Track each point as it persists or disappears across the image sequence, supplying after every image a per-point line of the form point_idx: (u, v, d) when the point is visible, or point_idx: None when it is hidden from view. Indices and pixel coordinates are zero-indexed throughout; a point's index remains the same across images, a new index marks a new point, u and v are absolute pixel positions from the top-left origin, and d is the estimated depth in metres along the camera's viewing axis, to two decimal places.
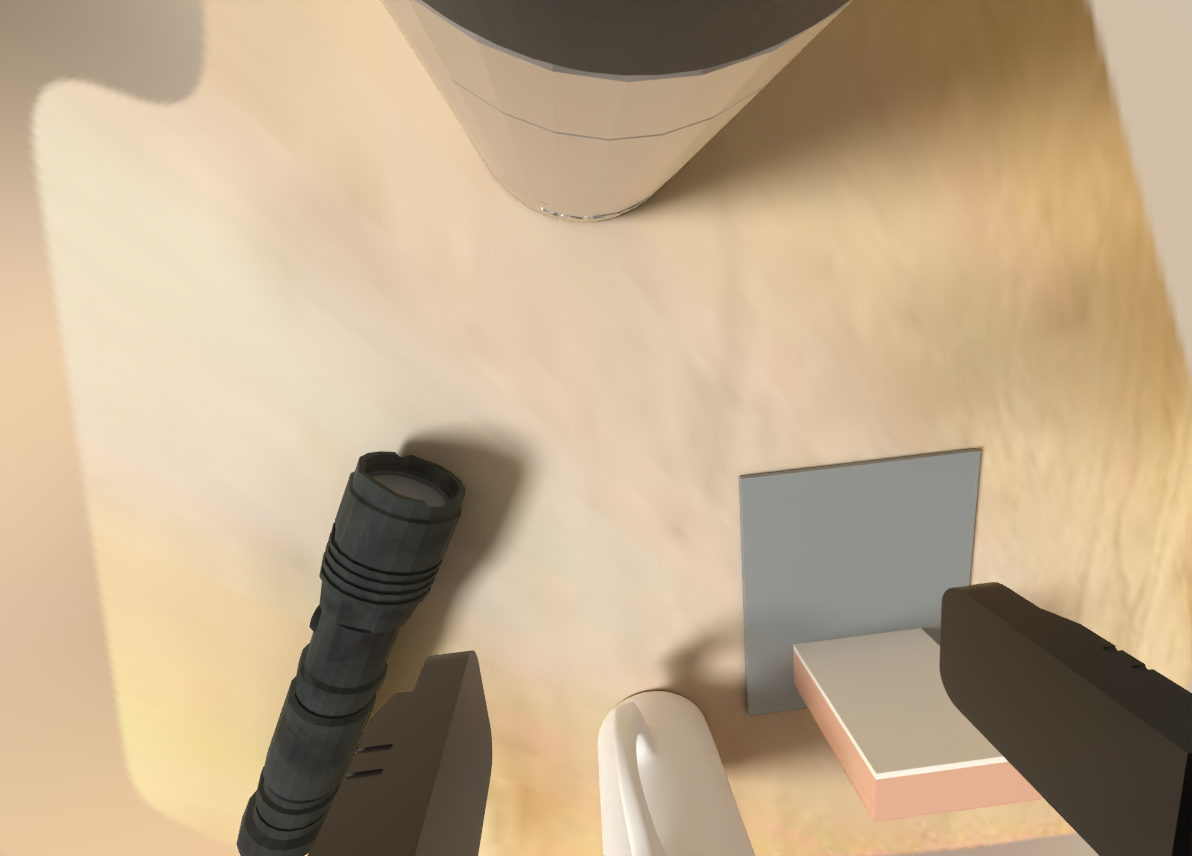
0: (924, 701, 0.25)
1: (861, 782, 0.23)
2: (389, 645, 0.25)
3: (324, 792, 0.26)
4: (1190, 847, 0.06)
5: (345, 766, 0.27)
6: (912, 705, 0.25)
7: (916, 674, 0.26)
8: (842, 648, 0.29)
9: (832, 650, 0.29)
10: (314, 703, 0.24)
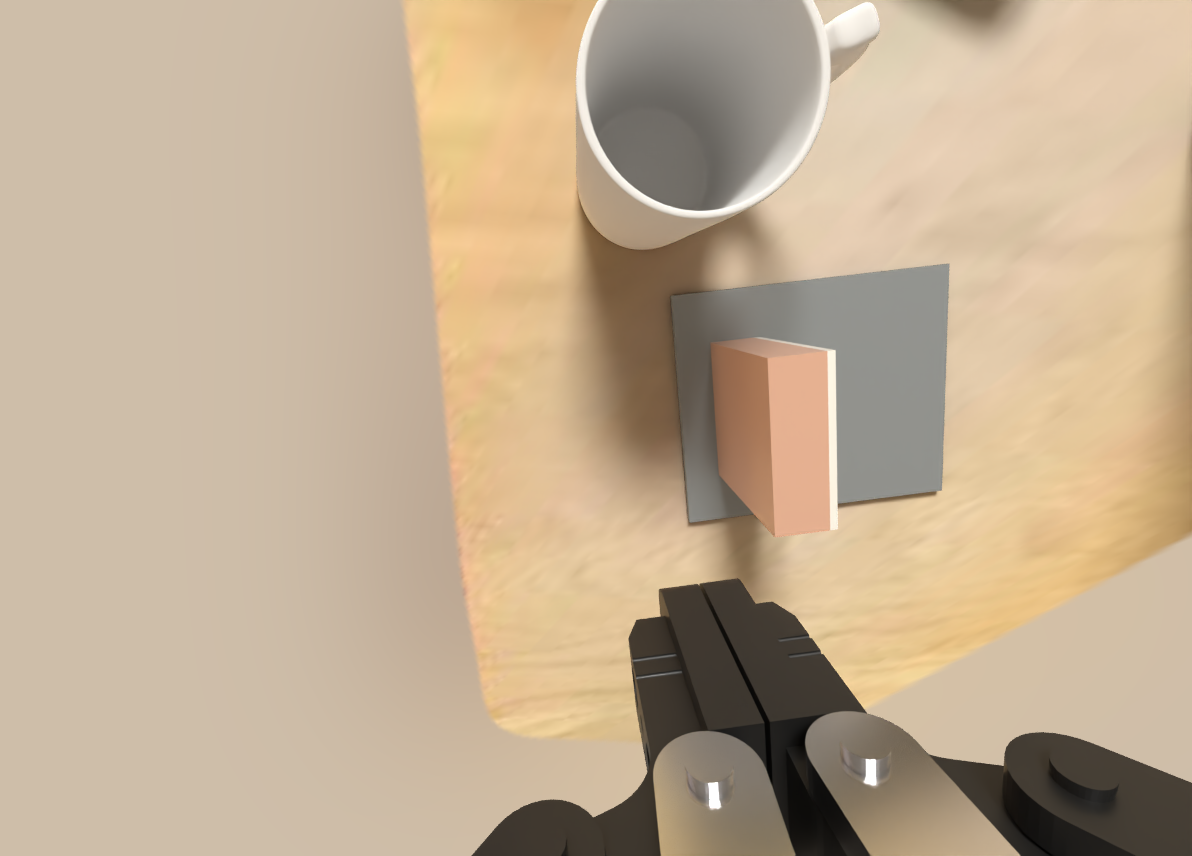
0: None
1: (782, 352, 0.21)
2: None
3: None
4: (787, 802, 0.07)
5: None
6: None
7: None
8: None
9: None
10: None
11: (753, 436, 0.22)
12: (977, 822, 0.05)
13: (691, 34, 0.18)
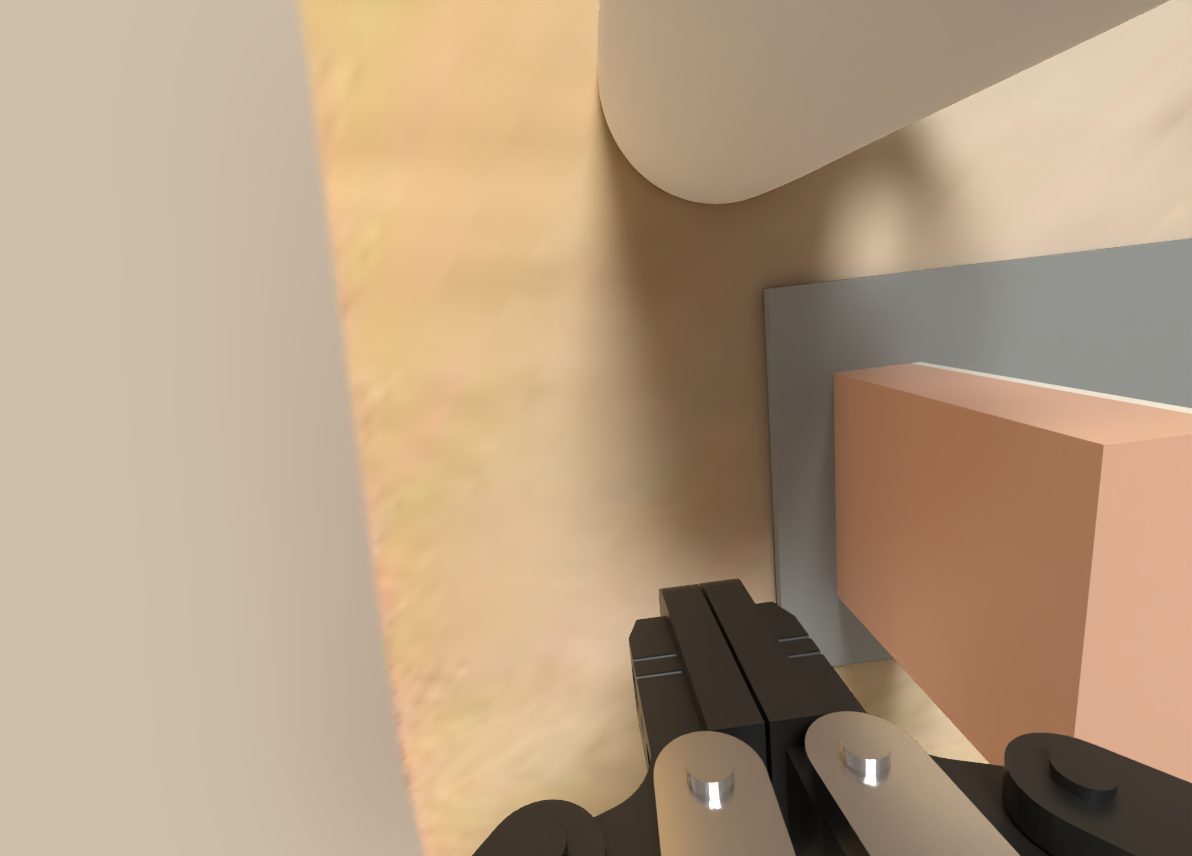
0: None
1: (1102, 421, 0.09)
2: None
3: None
4: (786, 803, 0.07)
5: None
6: None
7: None
8: None
9: None
10: None
11: (986, 590, 0.10)
12: (977, 823, 0.05)
13: None
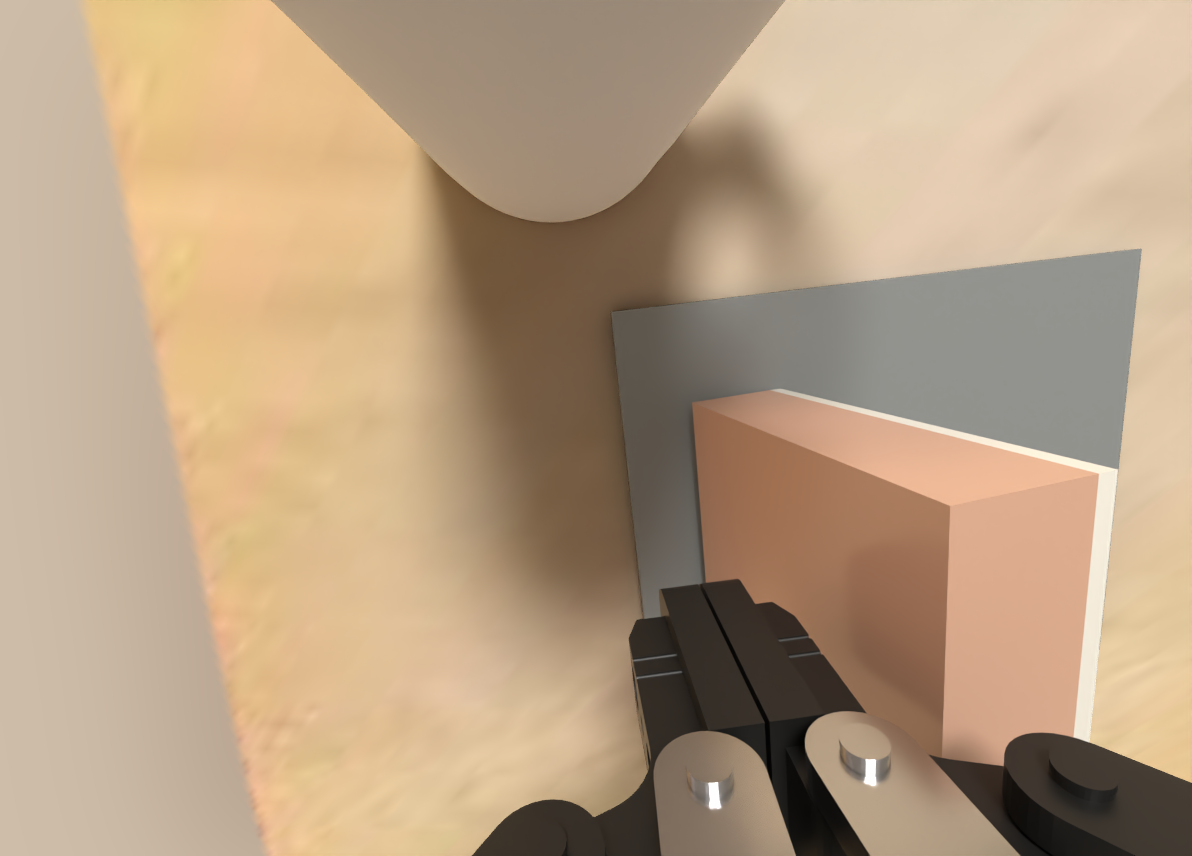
0: None
1: (949, 469, 0.08)
2: None
3: None
4: (786, 802, 0.07)
5: None
6: None
7: None
8: None
9: None
10: None
11: (845, 656, 0.09)
12: (977, 822, 0.05)
13: None
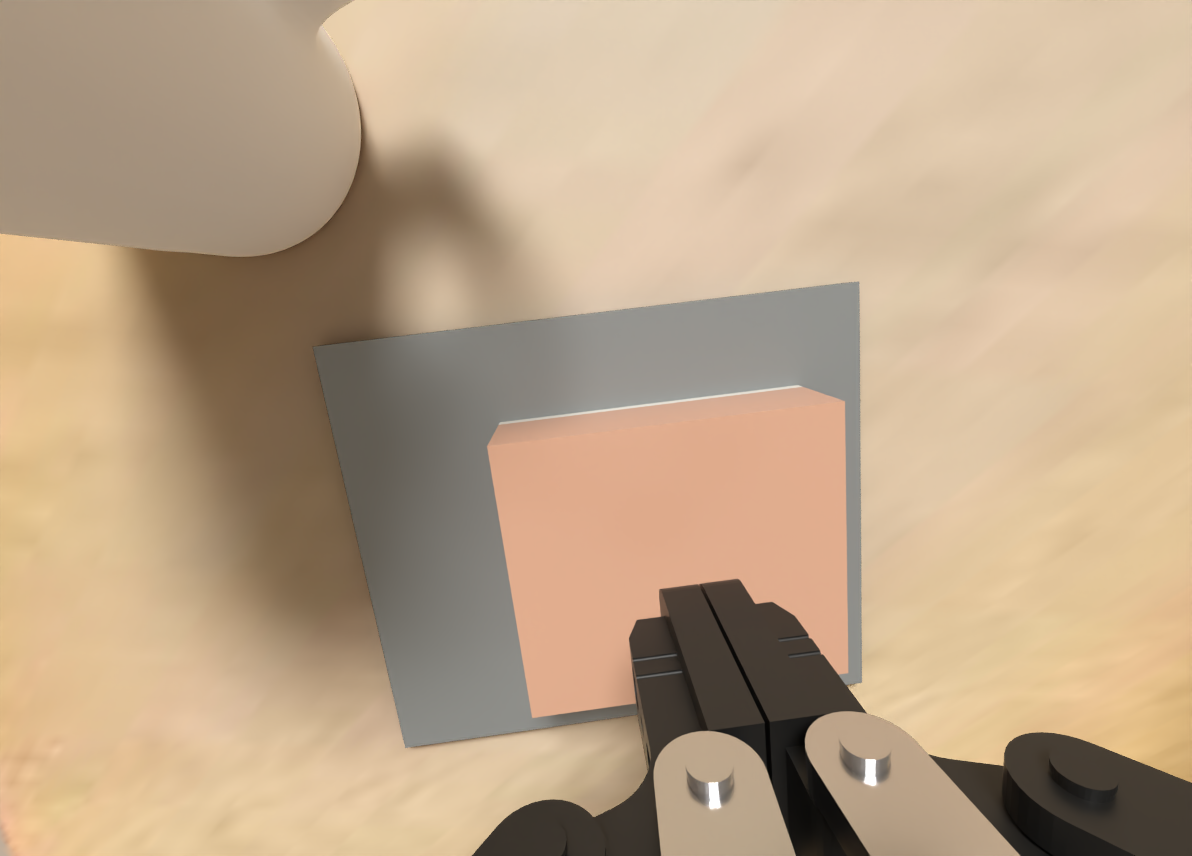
0: None
1: (784, 399, 0.13)
2: None
3: None
4: (787, 803, 0.07)
5: None
6: None
7: None
8: None
9: None
10: None
11: (764, 551, 0.13)
12: (977, 822, 0.05)
13: None
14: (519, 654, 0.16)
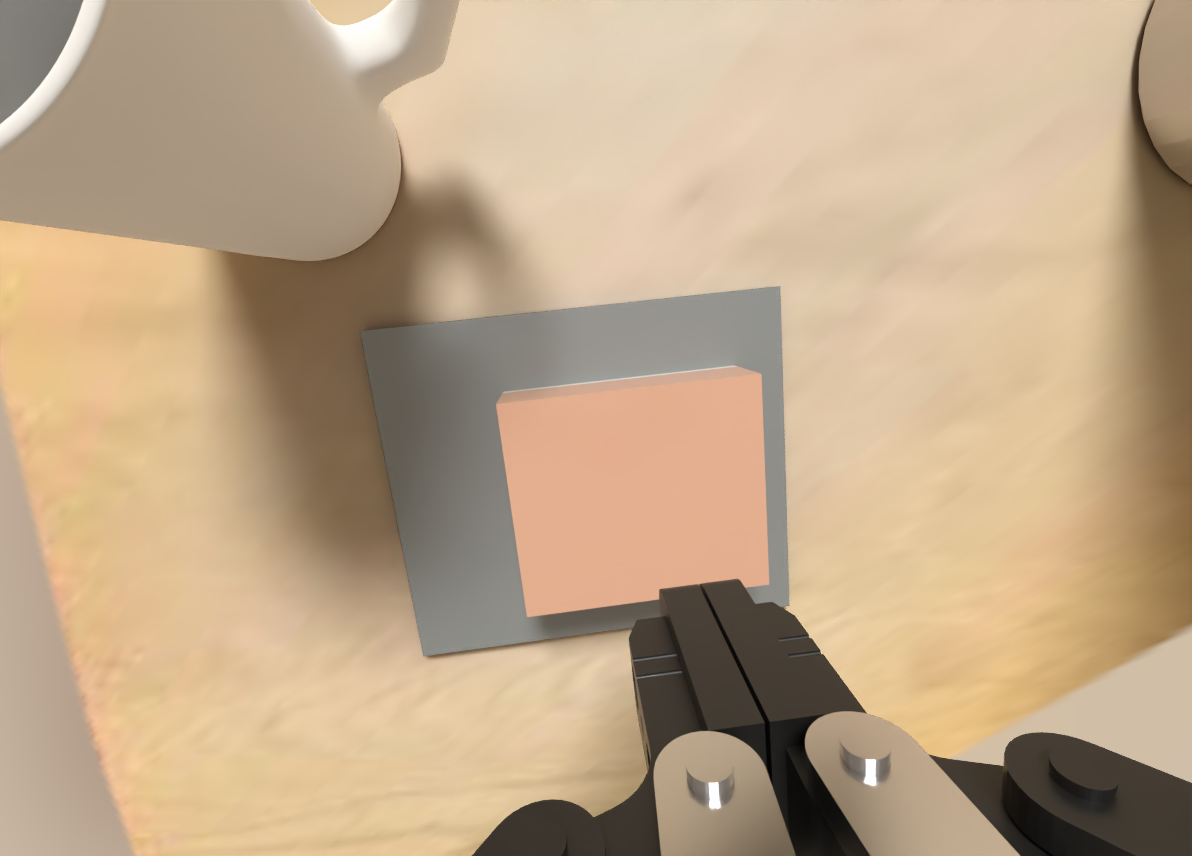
0: None
1: (720, 373, 0.17)
2: None
3: None
4: (787, 802, 0.07)
5: None
6: None
7: None
8: None
9: None
10: None
11: (703, 487, 0.17)
12: (977, 822, 0.05)
13: None
14: (516, 579, 0.20)
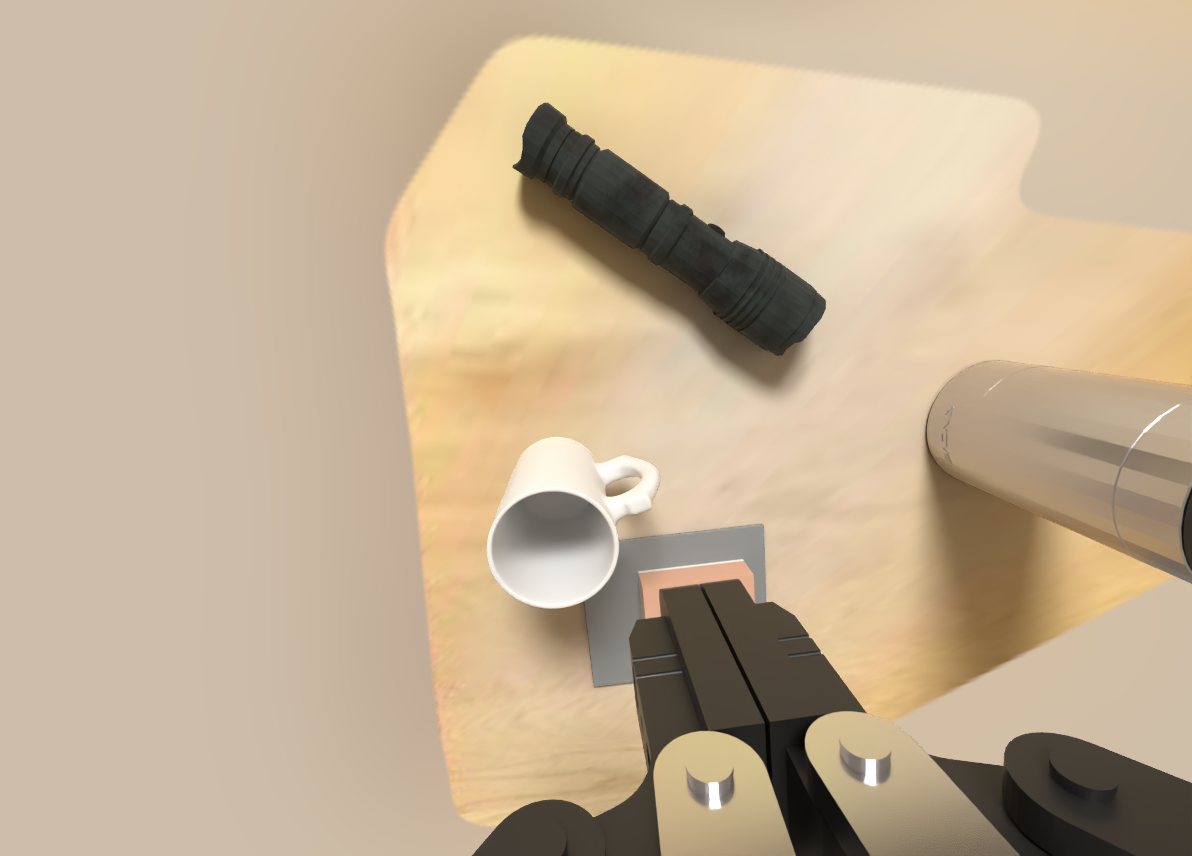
0: None
1: (736, 570, 0.40)
2: (687, 279, 0.34)
3: (582, 196, 0.32)
4: (786, 802, 0.07)
5: (592, 214, 0.33)
6: None
7: None
8: None
9: None
10: (669, 218, 0.32)
11: None
12: (977, 822, 0.05)
13: None
14: None
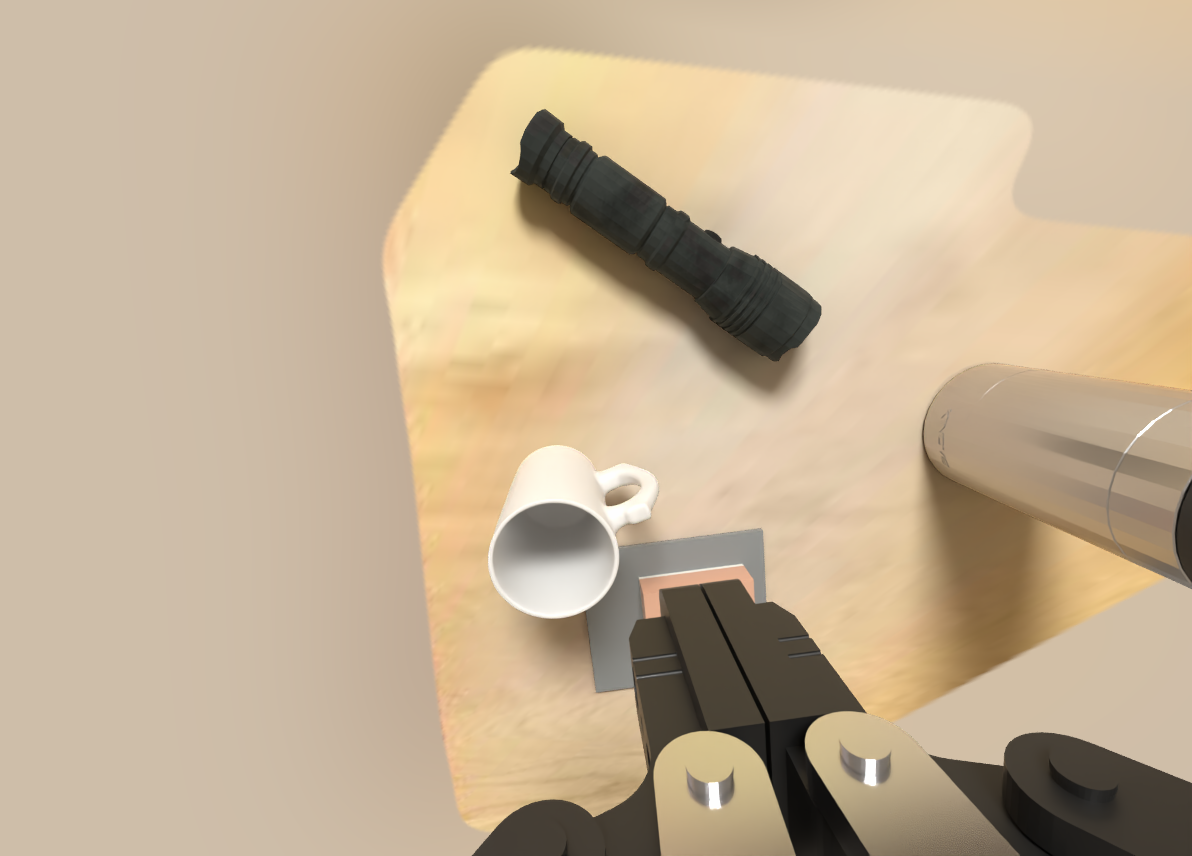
0: None
1: (735, 575, 0.40)
2: (684, 284, 0.35)
3: (580, 202, 0.32)
4: (786, 802, 0.07)
5: (589, 220, 0.33)
6: None
7: None
8: None
9: None
10: (666, 225, 0.33)
11: None
12: (976, 822, 0.05)
13: None
14: None
